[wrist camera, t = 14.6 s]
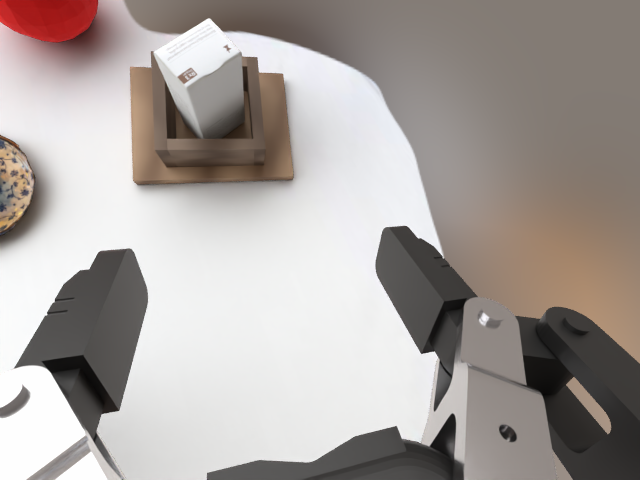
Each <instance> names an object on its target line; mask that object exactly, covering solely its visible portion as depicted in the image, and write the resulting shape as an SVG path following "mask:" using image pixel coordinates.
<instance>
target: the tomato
mask: <svg viewBox="0 0 640 480" xmlns="http://www.w3.org/2000/svg"><path fill="white" fill-rule="evenodd" d="M97 6H98V0H0V22H1V23H3V24H4V25H6V26H7V27H9V28H11V29H12V30H14V31H16V32H18V33H20V34H23V35H26V36H29V37H32V38H35V39H38V40H41V41H48V42H56V43H57V42H62V41H66V40H70V39H73V38H75V37H76V36H78V35H79V34H81V33H82V32H84V31H85V30H87V29H88V28H89V26H90V24H91V23H92V21H93V19H94V17H95V15H96V12H97Z"/></svg>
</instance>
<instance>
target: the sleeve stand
mask: <svg viewBox="0 0 640 480" xmlns="http://www.w3.org/2000/svg"><path fill="white" fill-rule="evenodd" d="M151 66H152V68H146V67H130V83H131V121H132V159H133V181H134V182H135V183H136V184H137V185H138V184H169V183H200V182H231V181H263V180H292V179H293V167H292V157H291V147H290V137H289V127H288V117H287V108H286V98H285V88H284V78H283V74H278V73H259V71H258V60H257V57H242V70H243V91H244V113H245V122H243V123H242V124H241V125H239V126H238V127H237V128H235V129H234V130H232V131H231V132H230V133H228V134H227V135H226V136H224V137H223V138H221V139H198V138H197V137H196V136H195V135H194V134H193V132H192V131H191V130H190V129H189V128H188V127H187V126H186V125H185V124H184V122H183V120H182V118H181V116H180V113H179V111H178V109H177V106H176V104H175V102H174V99H173V97H172V95H171V92H170V90H169V88H168V86H167V83H166V81H165V79H164V77H163V74H162V72H161V70H160V68H159V65H158V63H157V61H156V58H155V56H154V52H152V51H151Z"/></svg>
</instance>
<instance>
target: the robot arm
mask: <svg viewBox="0 0 640 480" xmlns="http://www.w3.org/2000/svg"><path fill="white" fill-rule="evenodd" d="M442 257H443V256H442V255H441V254H440V253H439V252H438V251H437V250H436V249H435V247H434V246H432V245H431V244H429V243H427V242H426V241H424V240H423V239H421V238H420V239H418V238H417V237H416V236H415V235H414V233H413V232H412V231H411V230H410V229H409V228H408V227H407V226H397V227H386V228H384V230H383V232H382V235H381V240H380V244H379V249H378V253H377V258H376V273H377V276H378V278H379V280H380V282H381V284H382V285H383V287H384V289H385V291H386V293H387V294H388V296H389V298H390V300H391V301H392V303H393V305H394V307H395V308H396V310H397V312H398V314H399V315H400V317H401V319H402V321H403V323H404V324H405V326H406V328H407V330H408V331H409V333H410V335H411V337H412V338H413V340H414V342H415V344H416V345H417V347H418V349H419V351H420V352H421V354H423V353H428V352H433V351H435V353H436V354H437V356H438V359H437V361H436V365H435V372H434V380H433V387H432V394H431V401H430V408H429V415H428V420H427V424H426V427H425V430H424V433H423V437H422V440H421V443H419V442H415V441H410V440H406V439H402V438H401V436H400V433H399V431H398V428H397V426H395V427H391V428H387V429H383V430H379V431H375V432H371V433H367V434H363V435H359V436H355V437H353V438H352V439H350V440H348V441H347V442H345V443H343V444H342V445H340V446H338V447H337V448H335V449H334V450H332V451H330V452H329V453H327V454H325V455H324V456H322V457H320V458H319V459H317V460H315V461H313V462H309V463H303V462H283V461H264V460H258V461H254V462H250V463H246V464H242V465H238V466H234V467H230V468H226V469H222V470H218V471H214V472H210V473H207V480H557V475H556V469H555V463H554V457H553V451H554V452H555V454H556V455H557V457H558V458H559V460H560V461H561V463H562V464H563V465H564V467H565V468H566V470H567V471H568V473H569V474H570V476H571V477H572V479H573V480H640V364H639V363H638V362H637V361H636V360H635V359H634V358H633V357H632V356H631V355H629V354H628V353H627V352H626V351H625V350H624V349H623V348H622V347H621V346H619V345H618V344H617V343H616V342H615V341H614V340H613V339H612V338H611V337H610V336H608V335H607V334H606V333H605V332H604V331H603V330H602V329H601V328H600V327H598V326H597V325H596V324H595V323H594V322H593V321H592V320H590V319H589V318H587V317H586V316H584V315H582V314H580V313H578V312H576V311H574V310H571V309H568V308H563V307H552V308H549V309H548V310H547V311H546V312H545V313H544V315H543V316H542V318H541V319H536V318H528V317H520V316H514V314H513V313H512V312H511V311H510V310H509V309H508V308H506V307H505V306H503V305H502V304H500V303H498V302H496V301H494V300H491V299H488V298H482V297H478V296H477V295H476V294H475V293H474V292H473V291H472V290H471V288H470V287H469V286H468V285H467V284H466V283H465V282H464V281H463V279H462V278H461V277H460V276H459V275H458V274H457V272H456V271H455V270H454V269H453V268H452V267H450V265H449V263H448V262H447V261H446V260H445V259H443V258H442ZM147 303H148V292H147V287H146V284H145V281H144V278H143V276H142V273H141V270H140V268H139V265H138V262H137V259H136V257H135V254H134V252H133V251H132V249H118V250H107V251H100V252H99V253H98V254H97V256H96V258H95V260H94V262H93V264H92V265H91V267H90V269H89V270H80V271H79V272H78V273H77V274H75V275H74V276H73V277H72V278H71V279H70V280H68V281H67V282H66V283H65V284H64V285H63V287H62V288H61V290H60V292H59V293H58V295H57V297H56V298H55V303H52V305H51V307H50V309H49V310H48V312H47V314H48V315H47V316H45V317H44V319H43V320H42V322H41V324H40V326H39V327H38V329H37V331H36V332H35V334H34V336H33V337H32V339H31V341H30V342H29V344H28V346H27V348H26V349H25V351H24V353H23V354H22V356H21V358H20V359H19V361H18V363H17V364H16V366H15V368H14V369H12V370H10V371H7V372H5V373H3V374H0V480H127V479H126V477H125V476H124V474H123V473H122V471H121V469H120V468H119V466H118V464H117V463H116V461H115V459H114V458H113V456H112V454H111V453H110V451H109V449H108V448H107V446H106V444H105V443H104V441H103V439H102V438H101V436H100V435H99V433H98V432H97V427H98V424H99V421H100V417H101V414H104V413H109V412H115V411H119V410H120V406H121V402H122V399H123V395H124V391H125V387H126V384H127V380H128V376H129V372H130V369H131V365H132V361H133V357H134V353H135V350H136V346H137V342H138V338H139V335H140V331H141V327H142V323H143V320H144V316H145V312H146V308H147ZM573 377H575V378H576V379H577V380H578V381H579V383H580V384H581V385H582V386H583V387H584V388H585V389H586V390H587V392H588V393H589V394H590V395H591V396H592V397H593V398H594V399H595V400H596V402H597V403H598V404H599V405H600V406H601V407H602V408H603V410H604V411H605V412H606V414H607V415H608V417H609V419H610V422H611V432H610V433H609V434H607V433H606V432H605V431H604V430H603V428H602V427H601V426H600V425H599V424H598V422H597V421H596V420H595V419H594V418H593V417H592V415H591V414H590V413H589V412H588V411H587V409H586V408H585V407H584V406H583V405H582V404H581V402H580V401H579V400H578V399H577V398H576V396H575V395H574V394H573V393H572V392H571V390H570V389H569V388H568V387H567V386H566V384H567V383H568V382H569V381H570V380H571V379H572V378H573ZM552 449H553V451H552Z"/></svg>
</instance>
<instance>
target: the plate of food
mask: <svg viewBox="0 0 640 480" xmlns="http://www.w3.org/2000/svg"><path fill="white" fill-rule="evenodd" d="M34 185H35V175H34V173H33V171H32V169H31V167H30V165H29V162H28V160H27V157H26V155H25V154H24V153H23V152H22V151H21V150H20V148H19V145H17V144H16V143H15V142H13V141H12V140H10V139H8V138H5V137H3V136H1V135H0V236H1V235H4V234H5V233H7V232H8V231H10V230H12V229H13V228H14V226H15V224H16V223H17V222H18V220H19V219H20V218H21V217H22V216H23V215H24V214H25V213H26V212H27V209H28V208H29V205H30V203H31V201H32V198H33V190H34Z"/></svg>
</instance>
